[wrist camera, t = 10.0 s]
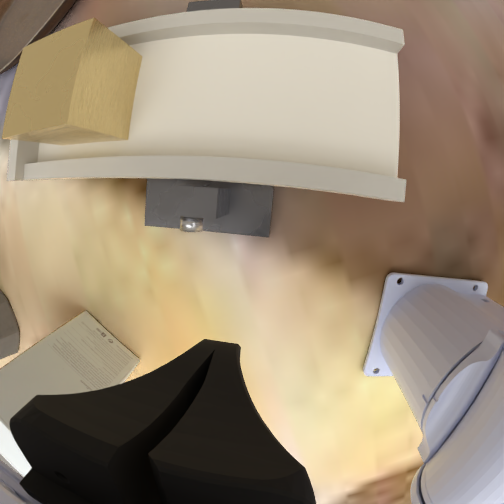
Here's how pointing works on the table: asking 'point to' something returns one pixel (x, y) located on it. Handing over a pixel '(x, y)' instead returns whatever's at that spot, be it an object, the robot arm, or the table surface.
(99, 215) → the table surface
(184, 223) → the pivot stand
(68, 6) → the plant saucer
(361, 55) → the beam
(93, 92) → the brass block
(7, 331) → the coffeepot
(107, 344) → the small box
